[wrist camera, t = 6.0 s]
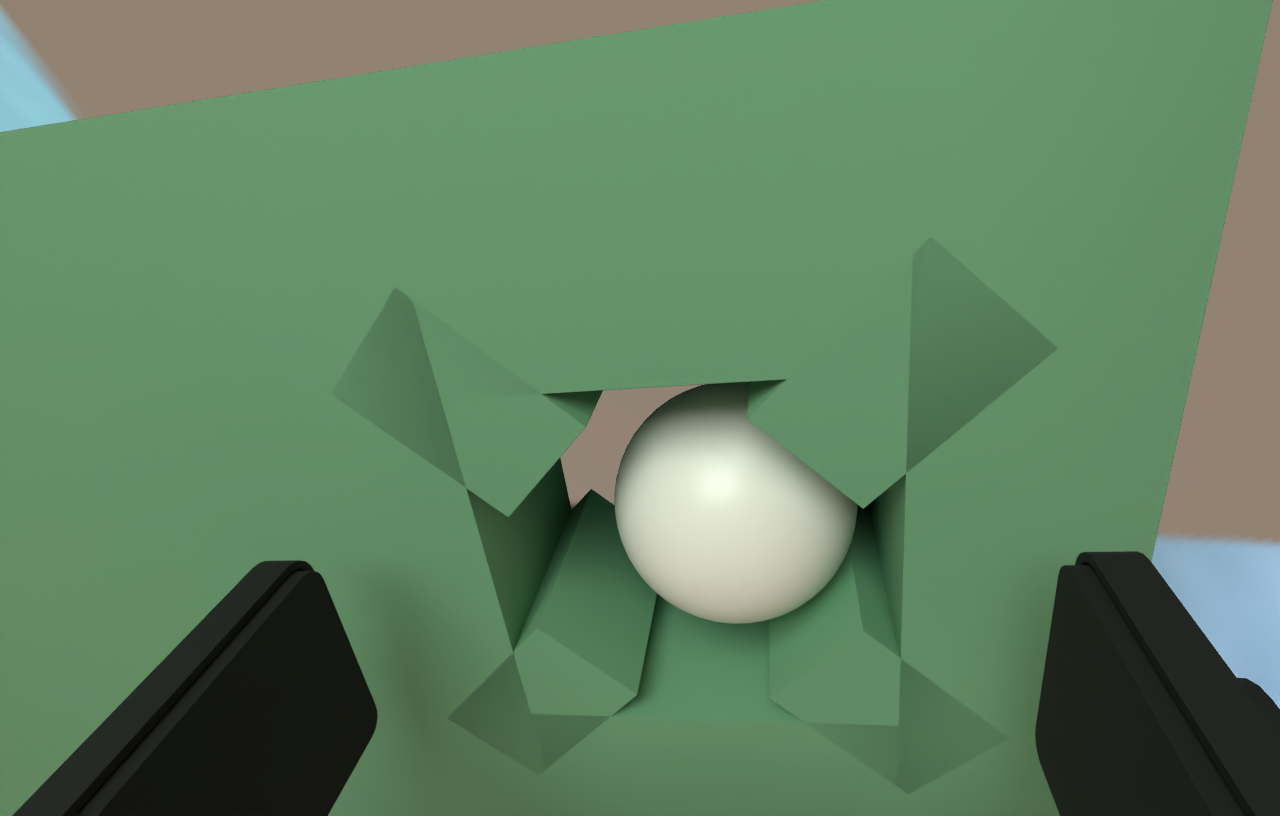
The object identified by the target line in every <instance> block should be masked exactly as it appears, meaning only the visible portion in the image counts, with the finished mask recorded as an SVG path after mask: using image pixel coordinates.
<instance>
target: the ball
mask: <svg viewBox="0 0 1280 816" xmlns="http://www.w3.org/2000/svg"><path fill="white" fill-rule="evenodd" d="M748 392H749V382H731V383H714V384H705V385H701V386H698V387H696V388H693V389H690V390H687V391H685V392H683V393H681V394H679V395H677V396H675V397H673V398H671V399H670V400H668V401H667V402H666V403H664V404H663V405H661V406H660V407H659V408H658V409H656V410H655V411H654V412H653V413H652V414H651V415H650V416H649V417H648V418H647V419H646V420H645V421H644V422H643V424H642V425H641V426H640V428H639V429H638V430H637V431H636V433H635V434H634V436H633V437H632V439H631V441H630V443H629V445H628V446H627V448H626V451H625V453H624V455H623V458H622V460H621V463H620V467H619V471H618V475H617V479H616V487H615V514H616V521H617V527H618V531H619V534H620V538H621V541H622V544H623V546H624V548H625V550H626V553H627V555H628V557H629V559H630V561H631V562H632V564H633V565H634V567H635V569H636V570H637V572H638V573H639V575H640V576H641V577H642V578H643V580H644V581H645V582H646V583H647V584H648V585H649V586H650V587H651V588H652V589H653V590H654V591H655V592H656V593H658V594H659V595H660V596H661V597H662V598H664V599H665V600H666V601H667V602H669V603H671V604H672V605H674V606H676V607H677V608H679V609H681V610H682V611H685V612H687V613H689V614H692V615H694V616H696V617H700V618H703V619H707V620H711V621H714V622H722V623H730V624H742V623H754V622H760V621H766V620H769V619H773V618H776V617H779V616H782V615H784V614H786V613H788V612H791V611H793V610H795V609H797V608H798V607H800V606H801V605H803V604H804V603H806V602H807V601H809V600H810V599H812V598H813V597H814V596H815V595H816V594H817V593H818V592H820V591H821V590H822V589H823V588H824V587H825V586H826V585H827V583H828V582H829V581H830V580H831V579H832V578H833V576H834V575H835V573H836V572H837V570H838V569H839V567H840V565H841V564H842V562H843V560H844V558H845V556H846V554H847V552H848V549H849V547H850V545H851V542H852V538H853V534H854V530H855V525H856V517H857V504H856V503H855V502H854V501H853V500H851V499H850V498H849V497H847V496H846V495H845V494H843V493H842V492H841V491H840V490H838V489H837V488H836V487H834V486H833V485H832V484H831V483H829V482H828V481H827V480H825V479H824V478H823V477H821V476H820V475H819V474H818V473H816V472H815V471H814V470H812V469H811V468H810V467H809V466H807V465H806V464H805V463H803V462H802V461H801V460H799V459H798V458H797V457H796V456H794V455H793V454H792V453H790V452H789V451H788V450H787V449H785V448H784V447H783V446H781V445H780V444H779V443H777V442H776V441H775V440H774V439H772V438H771V437H770V436H768V435H767V434H766V433H765V432H763V431H762V430H761V429H759V428H758V427H757V426H755V425H754V424H753V423H752V422H750V421H749V420H748V419H747V413H748Z"/></svg>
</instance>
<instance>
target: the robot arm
mask: <svg viewBox="0 0 1280 816" xmlns="http://www.w3.org/2000/svg"><path fill="white" fill-rule="evenodd" d="M377 718H378V715H377V708H376V705H375V702H374V700H373V697H372V695H371V692H370V690H369V688H368V685H367V683H366V680H365V678H364V675H363V673H362V671H361V668H360V666H359V663H358V661H357V658H356V656H355V654H354V651H353V649H352V646H351V644H350V642H349V639H348V637H347V634H346V632H345V629H344V627H343V625H342V622H341V620H340V617H339V615H338V612H337V610H336V608H335V605H334V603H333V600H332V598H331V595H330V593H329V591H328V588H327V586H326V583H325V581H324V579H323V577H322V575H321V574H320V573H318V572H316V571H314V569H313V568H312V566H311V565H310V564H309V563H307V562H306V561H301V560H287V561H264V562H260V563H258V564H257V565H256V566H254V567H253V568H252V569H251V570H250V571H249V572H248V573H247V574H246V575H245V576H244V577H243V578H242V579H241V580H240V581H239V582H238V584H237V585H236V586H235V587H234V588H233V589H232V590H231V591H230V592H229V593H228V594H227V595H226V596H225V597H224V598H223V599H222V600H221V601H220V602H219V603H218V604H217V605H216V606H215V607H214V608H213V609H212V610H211V611H210V612H209V613H208V614H207V615H206V616H205V617H204V619H203V620H202V621H201V622H200V623H199V624H198V625H197V626H196V627H195V628H194V629H193V630H192V631H191V632H190V633H189V634H188V635H187V636H186V637H185V638H184V639H183V640H182V641H181V642H180V643H179V644H178V645H177V646H176V647H175V648H174V649H173V650H172V651H171V653H170V654H169V655H168V656H167V657H166V658H165V659H164V660H163V661H162V662H161V663H160V664H159V665H158V666H157V667H156V668H155V669H154V670H153V671H152V672H151V673H150V674H149V675H148V676H147V677H146V678H145V679H144V680H143V681H142V682H141V683H140V684H139V685H138V686H137V688H136V689H135V690H134V691H133V692H132V693H131V694H130V695H129V696H128V697H127V698H126V699H125V700H124V701H123V702H122V703H121V704H120V705H119V706H118V707H117V708H116V709H115V710H114V711H113V712H112V713H111V714H110V715H109V716H108V717H107V718H106V719H105V720H104V722H103V723H102V724H101V725H100V726H99V727H98V728H97V729H96V730H95V731H94V732H93V733H92V734H91V735H90V736H89V737H88V738H87V739H86V740H85V741H84V742H83V743H82V744H81V745H80V746H79V747H78V748H77V749H76V750H75V751H74V752H73V753H72V754H71V756H70V757H69V758H68V759H67V760H66V761H65V762H64V763H63V764H62V765H61V766H60V767H59V768H58V769H57V770H56V771H55V772H54V773H53V774H52V775H51V776H50V777H49V778H48V779H47V780H46V781H45V782H44V783H43V784H42V785H41V786H40V787H39V788H38V789H37V791H36V792H35V793H34V794H33V795H32V796H31V797H30V798H29V799H28V800H27V801H26V802H25V803H24V804H23V805H22V806H21V807H20V808H19V809H18V810H17V811H16V812H15V813H14V814H13V815H12V816H328V815H329V813H330V811H331V809H332V807H333V806H334V804H335V802H336V800H337V799H338V797H339V795H340V793H341V791H342V790H343V788H344V786H345V784H346V783H347V781H348V779H349V777H350V776H351V774H352V772H353V770H354V768H355V767H356V765H357V763H358V761H359V760H360V758H361V756H362V754H363V752H364V751H365V749H366V747H367V745H368V744H369V742H370V740H371V738H372V736H373V734H374V732H375V729H376V725H377ZM1035 741H1036V748H1037V753H1038V758H1039V761H1040V764H1041V767H1042V770H1043V772H1044V775H1045V778H1046V780H1047V783H1048V786H1049V788H1050V791H1051V793H1052V796H1053V799H1054V801H1055V804H1056V807H1057V809H1058V812H1059V815H1060V816H1280V709H1279V708H1278V707H1277V705H1276V704H1275V703H1274V701H1273V700H1272V699H1271V698H1270V697H1269V696H1268V695H1267V694H1266V693H1265V692H1264V691H1263V689H1262V688H1261V687H1260V686H1258V685H1257V684H1255V683H1253V682H1252V681H1250V680H1248V679H1246V678H1236V676H1235V675H1234V674H1233V672H1232V671H1231V670H1230V668H1229V667H1228V666H1227V664H1226V663H1225V662H1224V660H1223V659H1222V658H1221V656H1220V655H1219V653H1218V652H1217V651H1216V649H1215V648H1214V647H1213V645H1212V644H1211V643H1210V641H1209V640H1208V639H1207V637H1206V636H1205V634H1204V633H1203V632H1202V630H1201V629H1200V628H1199V626H1198V625H1197V624H1196V622H1195V621H1194V620H1193V618H1192V617H1191V615H1190V614H1189V613H1188V611H1187V610H1186V609H1185V607H1184V606H1183V605H1182V603H1181V602H1180V601H1179V599H1178V598H1177V597H1176V595H1175V594H1174V592H1173V591H1172V590H1171V588H1170V587H1169V586H1168V584H1167V583H1166V582H1165V580H1164V579H1163V578H1162V576H1161V575H1160V573H1159V572H1158V571H1157V569H1156V568H1155V567H1154V565H1153V564H1152V563H1151V561H1150V560H1149V559H1148V558H1147V557H1146V556H1145V555H1144V554H1143V553H1140V552H1138V551H1123V552H1083V553H1080V554H1079V556H1078V557H1077V559H1076V562H1075V565H1064V566H1062V567H1061V569H1060V571H1059V575H1058V580H1057V587H1056V594H1055V600H1054V607H1053V614H1052V620H1051V627H1050V634H1049V641H1048V647H1047V654H1046V661H1045V667H1044V674H1043V681H1042V687H1041V694H1040V701H1039V707H1038V714H1037V721H1036V727H1035Z"/></svg>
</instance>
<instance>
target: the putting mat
mask: <svg viewBox="0 0 1280 816" xmlns="http://www.w3.org/2000/svg"><path fill="white" fill-rule="evenodd" d="M1271 5H1272V0H823V1H816V2H810V3H804V4H797V5H791V6H785V7H780V8H772V9H767V10H760V11H754V12H747V13H741V14H735V15H729V16H722V17H716V18H710V19H704V20H698V21H691V22H685V23H679V24H673V25H666V26H660V27H654V28H648V29H641V30H635V31H629V32H623V33H617V34H610V35H605V36H598V37H592V38H585V39H579V40H574V41H567V42H560V43H554V44H548V45H542V46H535V47H529V48H523V49H517V50H511V51H504V52H498V53H492V54H486V55H479V56H473V57H467V58H461V59H454V60H448V61H442V62H436V63H429V64H424V65H417V66H411V67H404V68H399V69H392V70H386V71H379V72H374V73H367V74H361V75H355V76H349V77H342V78H336V79H330V80H323V81H317V82H311V83H305V84H299V85H292V86H286V87H280V88H274V89H267V90H261V91H255V92H249V93H242V94H237V95H230V96H224V97H218V98H212V99H205V100H199V101H192V102H186V103H180V104H174V105H168V106H162V107H155V108H149V109H143V110H136V111H130V112H124V113H118V114H112V115H106V116H99V117H93V118H86V119H80V120H74V121H68V122H61V123H55V124H49V125H43V126H37V127H30V128H24V129H18V130H12V131H5V132H0V816H12V815H13V814H14V813H15V812H16V811H17V810H18V809H19V808H20V807H21V806H22V805H23V804H24V803H25V802H26V801H27V800H28V799H29V798H30V797H31V796H32V795H33V794H34V793H35V792H36V791H37V789H38V788H39V787H40V786H41V785H42V784H43V783H44V782H45V781H46V780H47V779H48V778H49V777H50V776H51V775H52V774H53V773H54V772H55V771H56V770H57V769H58V768H59V767H60V766H61V765H62V764H63V763H64V762H65V761H66V760H67V759H68V758H69V757H70V756H71V754H72V753H73V752H74V751H75V750H76V749H77V748H78V747H79V746H80V745H81V744H82V743H83V742H84V741H85V740H86V739H87V738H88V737H89V736H90V735H91V734H92V733H93V732H94V731H95V730H96V729H97V728H98V727H99V726H100V725H101V724H102V723H103V722H104V720H105V719H106V718H107V717H108V716H109V715H110V714H111V713H112V712H113V711H114V710H115V709H116V708H117V707H118V706H119V705H120V704H121V703H122V702H123V701H124V700H125V699H126V698H127V697H128V696H129V695H130V694H131V693H132V692H133V691H134V690H135V689H136V688H137V686H138V685H139V684H140V683H141V682H142V681H143V680H144V679H145V678H146V677H147V676H148V675H149V674H150V673H151V672H152V671H153V670H154V669H155V668H156V667H157V666H158V665H159V664H160V663H161V662H162V661H163V660H164V659H165V658H166V657H167V656H168V655H169V654H170V653H171V651H172V650H173V649H174V648H175V647H176V646H177V645H178V644H179V643H180V642H181V641H182V640H183V639H184V638H185V637H186V636H187V635H188V634H189V633H190V632H191V631H192V630H193V629H194V628H195V627H196V626H197V625H198V624H199V623H200V622H201V621H202V620H203V619H204V617H205V616H206V615H207V614H208V613H209V612H210V611H211V610H212V609H213V608H214V607H215V606H216V605H217V604H218V603H219V602H220V601H221V600H222V599H223V598H224V597H225V596H226V595H227V594H228V593H229V592H230V591H231V590H232V589H233V588H234V587H235V586H236V585H237V584H238V582H239V581H240V580H241V579H242V578H243V577H244V576H245V575H246V574H247V573H248V572H249V571H250V570H251V569H252V568H253V567H254V566H256V565H257V564H258V563H260V562H264V561H287V560H301V561H306V562H307V563H309V564H310V565H311V566H312V568H313V569H314V571H316V572H318V573H320V574H321V575H322V577H323V579H324V581H325V583H326V586H327V588H328V591H329V593H330V595H331V598H332V600H333V603H334V605H335V608H336V610H337V612H338V615H339V617H340V620H341V622H342V625H343V627H344V629H345V632H346V634H347V637H348V639H349V642H350V644H351V646H352V649H353V651H354V654H355V656H356V658H357V661H358V663H359V666H360V668H361V671H362V673H363V675H364V678H365V680H366V683H367V685H368V688H369V690H370V692H371V695H372V697H373V700H374V702H375V705H376V708H377V715H378V718H377V725H376V729H375V732H374V734H373V736H372V738H371V740H370V742H369V744H368V745H367V747H366V749H365V751H364V752H363V754H362V756H361V758H360V760H359V761H358V763H357V765H356V767H355V768H354V770H353V772H352V774H351V776H350V777H349V779H348V781H347V783H346V784H345V786H344V788H343V790H342V791H341V793H340V795H339V797H338V799H337V800H336V802H335V804H334V806H333V807H332V809H331V811H330V813H329V815H328V816H1060V815H1059V812H1058V809H1057V807H1056V804H1055V801H1054V799H1053V796H1052V793H1051V791H1050V788H1049V786H1048V783H1047V780H1046V778H1045V775H1044V772H1043V770H1042V767H1041V764H1040V761H1039V758H1038V753H1037V748H1036V741H1035V727H1036V721H1037V714H1038V707H1039V701H1040V694H1041V687H1042V681H1043V674H1044V667H1045V661H1046V654H1047V647H1048V641H1049V634H1050V627H1051V620H1052V614H1053V607H1054V600H1055V594H1056V587H1057V580H1058V575H1059V571H1060V569H1061V567H1062V566H1064V565H1075V562H1076V559H1077V557H1078V556H1079V554H1080V553H1083V552H1123V551H1138V552H1140V553H1143V554H1144V555H1145V556H1146V557H1147V558H1148V559H1149V560H1150V561H1151V559H1152V555H1153V550H1154V545H1155V541H1156V536H1157V531H1158V527H1159V522H1160V517H1161V512H1162V508H1163V503H1164V499H1165V495H1166V490H1167V485H1168V481H1169V476H1170V471H1171V467H1172V462H1173V458H1174V453H1175V448H1176V444H1177V439H1178V434H1179V430H1180V425H1181V421H1182V416H1183V411H1184V406H1185V402H1186V398H1187V393H1188V388H1189V384H1190V379H1191V374H1192V370H1193V365H1194V361H1195V356H1196V351H1197V347H1198V342H1199V337H1200V333H1201V328H1202V323H1203V319H1204V314H1205V310H1206V305H1207V300H1208V296H1209V291H1210V287H1211V281H1212V277H1213V273H1214V268H1215V263H1216V259H1217V254H1218V250H1219V245H1220V240H1221V236H1222V231H1223V226H1224V222H1225V217H1226V213H1227V208H1228V203H1229V199H1230V194H1231V189H1232V185H1233V180H1234V176H1235V171H1236V166H1237V162H1238V157H1239V153H1240V148H1241V143H1242V139H1243V134H1244V130H1245V125H1246V120H1247V116H1248V111H1249V107H1250V102H1251V97H1252V92H1253V88H1254V83H1255V79H1256V74H1257V69H1258V65H1259V60H1260V56H1261V51H1262V47H1263V41H1264V37H1265V32H1266V28H1267V23H1268V19H1269V14H1270V10H1271ZM748 381H749V392H748V413H747V419H748V420H749V421H750V422H752V423H753V424H754V425H755V426H757V427H758V428H759V429H761V430H762V431H763V432H765V433H766V434H767V435H768V436H770V437H771V438H772V439H774V440H775V441H776V442H777V443H779V444H780V445H781V446H783V447H784V448H785V449H787V450H788V451H789V452H790V453H792V454H793V455H794V456H796V457H797V458H798V459H799V460H801V461H802V462H803V463H805V464H806V465H807V466H809V467H810V468H811V469H812V470H814V471H815V472H816V473H818V474H819V475H820V476H821V477H823V478H824V479H825V480H827V481H828V482H829V483H831V484H832V485H833V486H834V487H836V488H837V489H838V490H840V491H841V492H842V493H843V494H845V495H846V496H847V497H849V498H850V499H851V500H853V501H854V502H855V503H856V504H857V517H856V525H855V530H854V534H853V538H852V542H851V545H850V547H849V549H848V552H847V554H846V556H845V558H844V560H843V562H842V564H841V565H840V567H839V569H838V570H837V572H836V573H835V575H834V576H833V578H832V579H831V580H830V581H829V582H828V583H827V585H826V586H825V587H824V588H823V589H822V590H821V591H820V592H818V593H817V594H816V595H815V596H814V597H813V598H812V599H810V600H809V601H807V602H806V603H804V604H803V605H801V606H800V607H798V608H797V609H795V610H793V611H791V612H788V613H786V614H784V615H782V616H779V617H776V618H773V619H769V620H766V621H760V622H754V623H742V624H730V623H722V622H714V621H711V620H707V619H703V618H700V617H696V616H694V615H692V614H689V613H687V612H685V611H682V610H681V609H679V608H677V607H676V606H674V605H672V604H671V603H669V602H667V601H666V600H665V599H664V598H662V597H661V596H660V595H659V594H658V593H656V592H655V591H654V590H653V589H652V588H651V587H650V586H649V585H648V584H647V583H646V582H645V581H644V580H643V578H642V577H641V576H640V575H639V573H638V572H637V570H636V569H635V567H634V565H633V564H632V562H631V561H630V559H629V557H628V555H627V553H626V550H625V548H624V546H623V544H622V541H621V538H620V534H619V531H618V527H617V521H616V514H615V506H614V505H613V504H612V503H610V502H609V501H607V500H606V499H605V498H603V497H602V496H600V495H599V494H598V493H596V492H595V491H593V490H592V489H591V490H590V491H589V492H588V493H587V494H586V495H585V496H584V497H583V498H582V500H581V501H580V502H579V503H578V504H577V505H576V506H575V507H574V508H573V509H572V510H571V506H570V501H569V497H568V492H567V487H566V483H565V478H564V473H563V469H562V465H561V459H560V457H561V456H562V454H563V453H564V452H565V450H567V448H568V447H569V446H570V445H571V444H572V443H573V442H574V440H575V439H576V438H577V437H578V435H580V433H581V432H582V431H583V430H584V429H585V428H586V426H587V424H588V421H589V419H590V417H591V415H592V413H593V411H594V408H595V406H596V404H597V402H598V400H599V398H600V396H601V393H602V391H603V390H614V389H631V388H647V387H664V386H679V385H697V384H714V383H731V382H748Z"/></svg>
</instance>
